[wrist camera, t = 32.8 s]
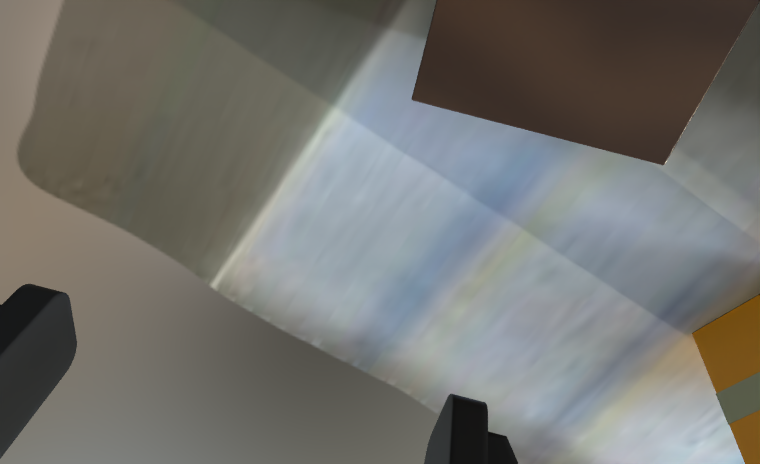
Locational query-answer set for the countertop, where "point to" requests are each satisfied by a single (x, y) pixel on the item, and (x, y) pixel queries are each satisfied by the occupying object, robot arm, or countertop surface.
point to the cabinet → (581, 66)
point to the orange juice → (736, 372)
